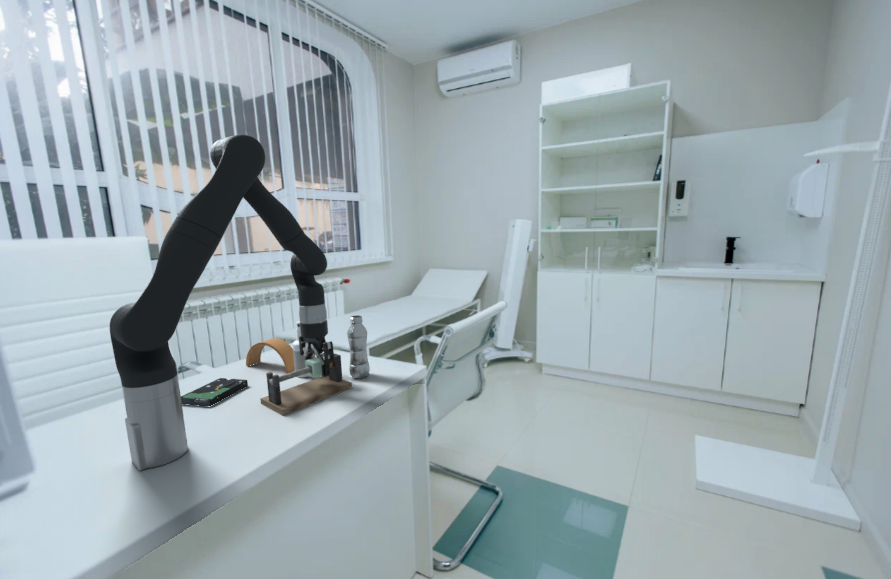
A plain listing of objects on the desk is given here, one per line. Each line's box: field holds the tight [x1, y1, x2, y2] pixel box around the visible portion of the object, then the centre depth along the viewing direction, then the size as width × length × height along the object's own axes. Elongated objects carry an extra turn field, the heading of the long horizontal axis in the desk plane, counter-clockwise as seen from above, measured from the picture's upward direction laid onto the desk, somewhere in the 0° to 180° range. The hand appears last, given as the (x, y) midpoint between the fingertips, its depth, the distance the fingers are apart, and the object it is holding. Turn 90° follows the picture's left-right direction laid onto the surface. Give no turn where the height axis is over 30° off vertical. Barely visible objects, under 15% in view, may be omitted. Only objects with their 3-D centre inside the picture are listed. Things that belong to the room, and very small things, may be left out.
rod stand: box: [259, 352, 353, 416], centre depth 110 cm, size 22×12×10 cm, turn 141°
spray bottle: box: [292, 320, 316, 379], centre depth 126 cm, size 7×7×18 cm
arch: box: [245, 337, 295, 374], centre depth 134 cm, size 6×20×10 cm, turn 66°
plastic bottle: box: [346, 315, 371, 379], centre depth 122 cm, size 6×7×20 cm
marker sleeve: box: [305, 357, 325, 379], centre depth 112 cm, size 5×4×4 cm
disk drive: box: [181, 377, 249, 407], centre depth 113 cm, size 10×3×15 cm
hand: (317, 372), depth 112 cm, fingers open, 8 cm apart
